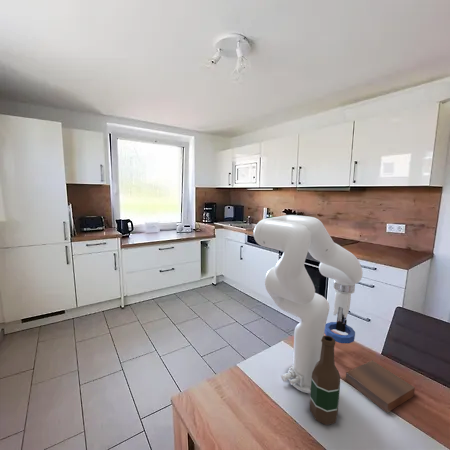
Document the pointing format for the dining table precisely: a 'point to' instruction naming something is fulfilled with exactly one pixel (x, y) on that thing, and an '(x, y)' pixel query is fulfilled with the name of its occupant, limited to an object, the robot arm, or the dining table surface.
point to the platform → (380, 385)
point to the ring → (337, 337)
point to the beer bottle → (325, 385)
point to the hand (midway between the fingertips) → (341, 329)
